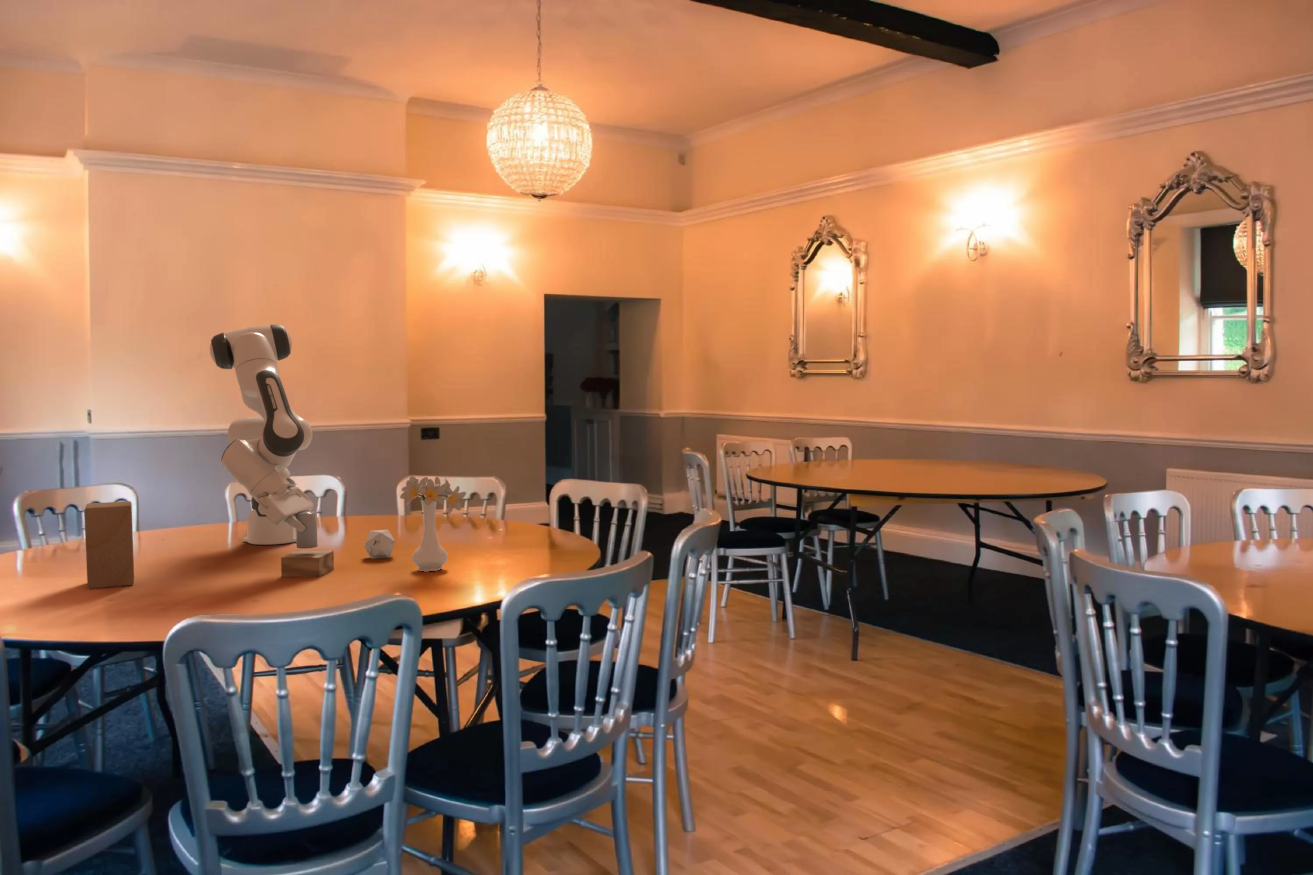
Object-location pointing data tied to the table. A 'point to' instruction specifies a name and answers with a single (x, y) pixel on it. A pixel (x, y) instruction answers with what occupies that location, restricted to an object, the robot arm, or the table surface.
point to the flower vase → (431, 518)
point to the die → (379, 544)
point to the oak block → (307, 563)
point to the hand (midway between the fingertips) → (309, 528)
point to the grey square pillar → (307, 530)
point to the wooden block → (109, 544)
